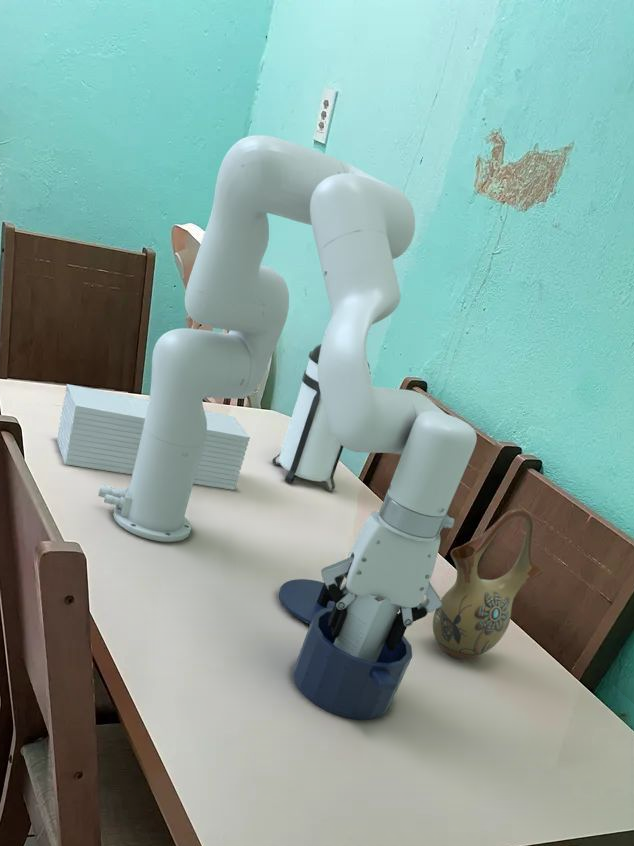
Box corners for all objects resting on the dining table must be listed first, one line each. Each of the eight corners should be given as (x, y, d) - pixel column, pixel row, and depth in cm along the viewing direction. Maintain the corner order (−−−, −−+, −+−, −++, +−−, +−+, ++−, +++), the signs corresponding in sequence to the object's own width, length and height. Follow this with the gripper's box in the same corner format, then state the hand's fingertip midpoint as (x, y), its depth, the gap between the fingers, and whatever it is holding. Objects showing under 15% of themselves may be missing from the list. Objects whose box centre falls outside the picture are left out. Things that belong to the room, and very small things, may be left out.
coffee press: (349, 486, 188) (399, 350, 174) (314, 497, 175) (364, 351, 161) (285, 453, 194) (328, 318, 180) (246, 461, 181) (288, 317, 167)
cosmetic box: (349, 652, 118) (380, 576, 113) (375, 670, 117) (407, 593, 111) (323, 663, 114) (354, 584, 108) (349, 682, 112) (382, 602, 106)
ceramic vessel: (423, 664, 130) (491, 514, 118) (399, 631, 137) (462, 486, 125) (511, 673, 136) (584, 532, 124) (485, 640, 143) (552, 504, 131)
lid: (294, 631, 126) (308, 592, 123) (266, 580, 137) (278, 543, 134) (381, 640, 132) (396, 603, 129) (347, 591, 143) (361, 555, 140)
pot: (318, 730, 107) (341, 675, 103) (275, 643, 121) (293, 591, 117) (412, 735, 112) (437, 682, 108) (360, 651, 127) (380, 602, 123)
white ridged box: (64, 464, 151) (75, 405, 146) (56, 440, 159) (66, 383, 154) (234, 490, 166) (250, 437, 160) (219, 467, 174) (233, 416, 168)
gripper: (469, 522, 109) (418, 639, 118) (339, 485, 106) (296, 608, 114) (484, 547, 103) (428, 669, 111) (346, 509, 99) (299, 638, 108)
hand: (361, 637), depth 113 cm, fingers closed on cosmetic box, 7 cm apart
